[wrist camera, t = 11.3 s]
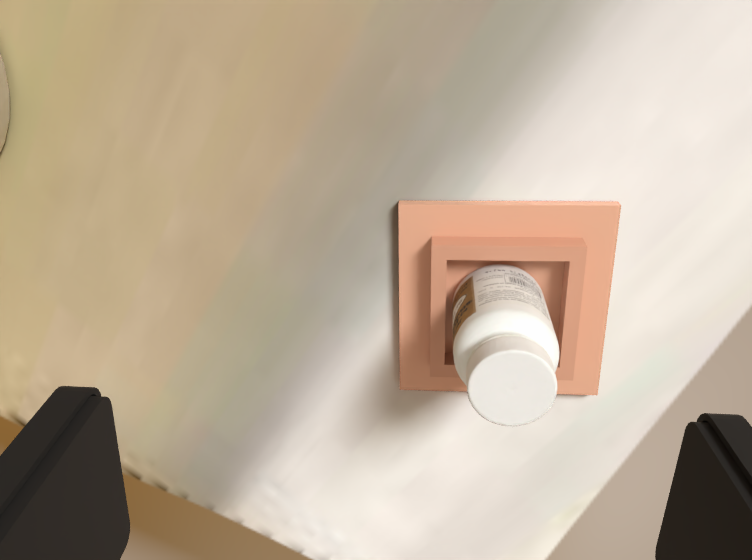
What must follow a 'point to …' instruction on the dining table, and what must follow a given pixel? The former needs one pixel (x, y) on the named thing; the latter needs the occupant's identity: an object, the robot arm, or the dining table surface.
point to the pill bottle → (505, 345)
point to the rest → (511, 247)
